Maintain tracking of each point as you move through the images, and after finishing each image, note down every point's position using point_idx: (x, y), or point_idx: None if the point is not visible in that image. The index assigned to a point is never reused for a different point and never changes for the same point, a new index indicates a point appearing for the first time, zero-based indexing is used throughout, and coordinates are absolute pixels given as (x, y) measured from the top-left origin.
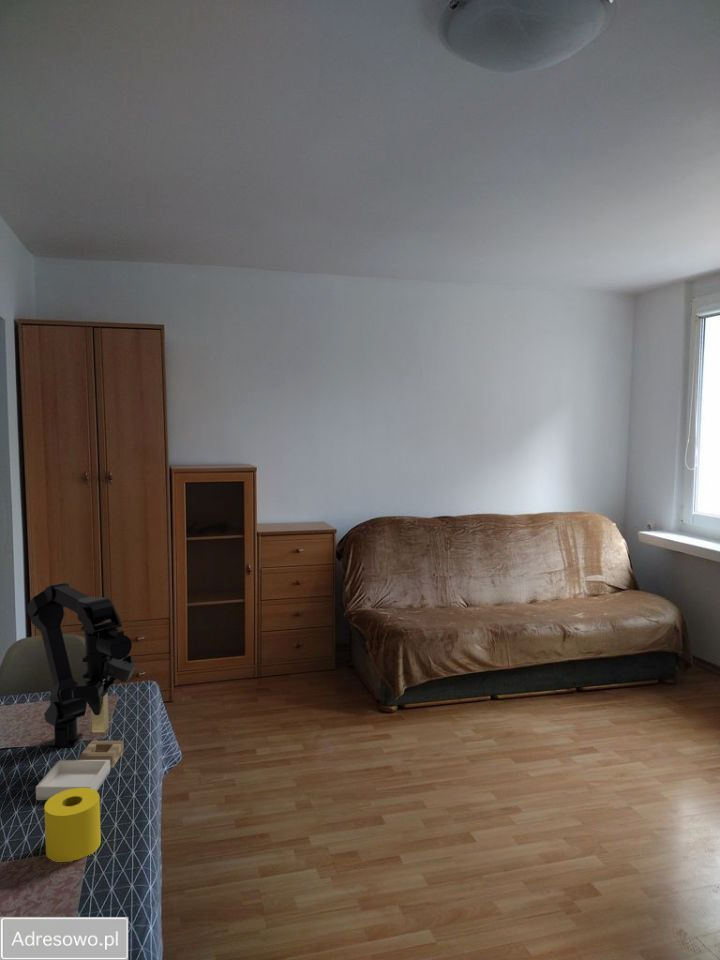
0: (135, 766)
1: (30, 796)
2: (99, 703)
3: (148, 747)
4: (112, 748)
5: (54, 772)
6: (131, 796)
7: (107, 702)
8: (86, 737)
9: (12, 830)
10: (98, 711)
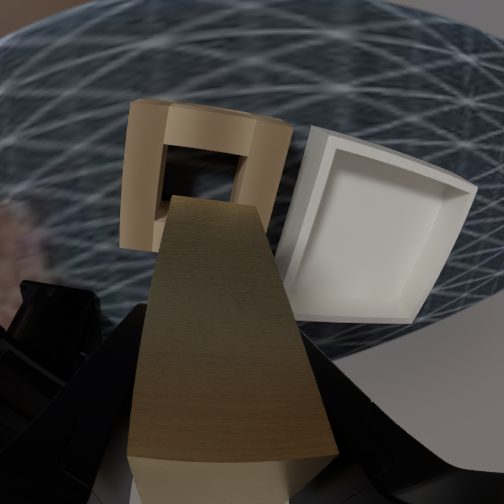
0: (290, 32)
1: None
2: (373, 407)
3: (120, 3)
4: (210, 137)
5: (323, 306)
6: (471, 66)
7: (156, 327)
8: (28, 266)
9: (471, 302)
10: (307, 344)
